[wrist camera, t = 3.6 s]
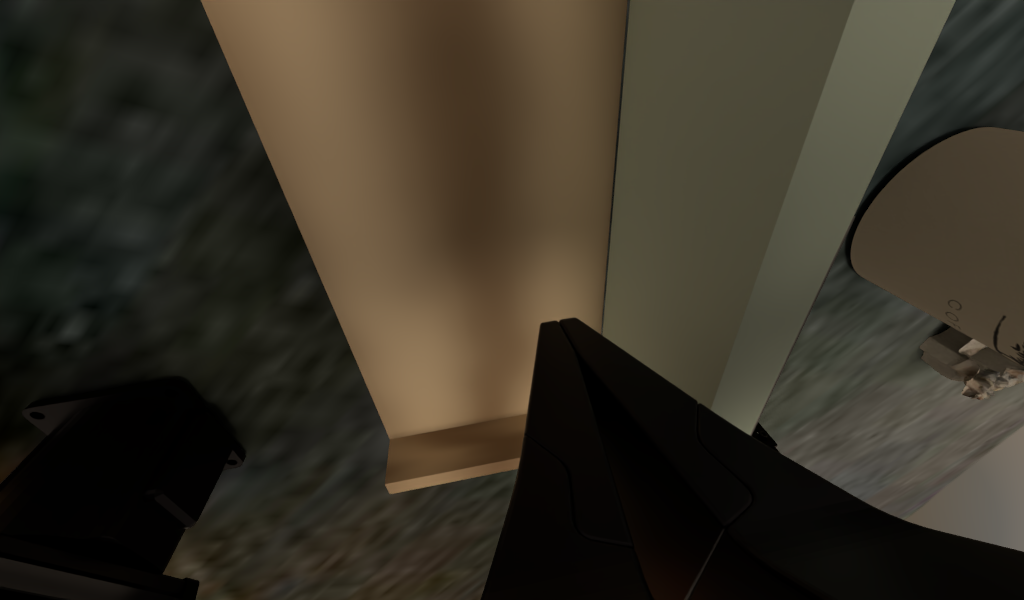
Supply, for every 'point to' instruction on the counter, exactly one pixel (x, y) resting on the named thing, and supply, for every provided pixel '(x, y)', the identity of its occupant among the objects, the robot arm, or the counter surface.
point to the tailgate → (747, 176)
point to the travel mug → (955, 237)
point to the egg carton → (970, 363)
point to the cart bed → (441, 193)
